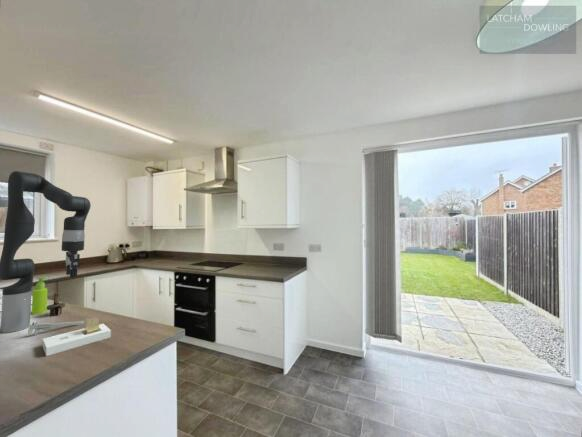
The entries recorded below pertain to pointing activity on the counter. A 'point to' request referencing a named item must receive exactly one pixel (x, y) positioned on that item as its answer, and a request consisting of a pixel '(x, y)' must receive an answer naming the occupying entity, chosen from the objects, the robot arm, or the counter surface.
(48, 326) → the caliper
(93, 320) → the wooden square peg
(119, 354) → the counter surface
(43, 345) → the white peg hole board
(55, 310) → the industrial component
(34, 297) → the soap dispenser
